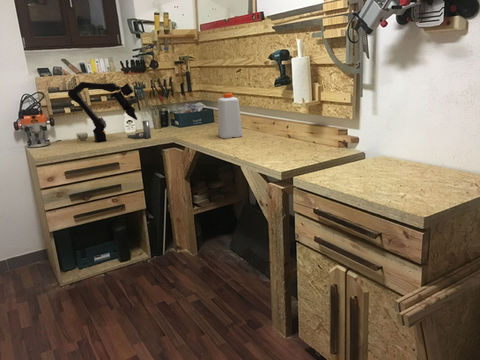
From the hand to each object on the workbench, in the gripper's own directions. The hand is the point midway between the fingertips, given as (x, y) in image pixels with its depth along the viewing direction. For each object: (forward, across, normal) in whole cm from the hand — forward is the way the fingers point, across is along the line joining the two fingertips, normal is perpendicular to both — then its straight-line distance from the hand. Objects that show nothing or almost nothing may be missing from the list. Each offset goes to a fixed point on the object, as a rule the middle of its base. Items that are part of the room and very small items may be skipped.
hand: (135, 118), depth 271 cm
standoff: (+14, -8, +2) cm, 16 cm away
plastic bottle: (+38, -36, -42) cm, 67 cm away
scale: (+12, +2, +6) cm, 14 cm away
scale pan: (+11, +3, +6) cm, 13 cm away
